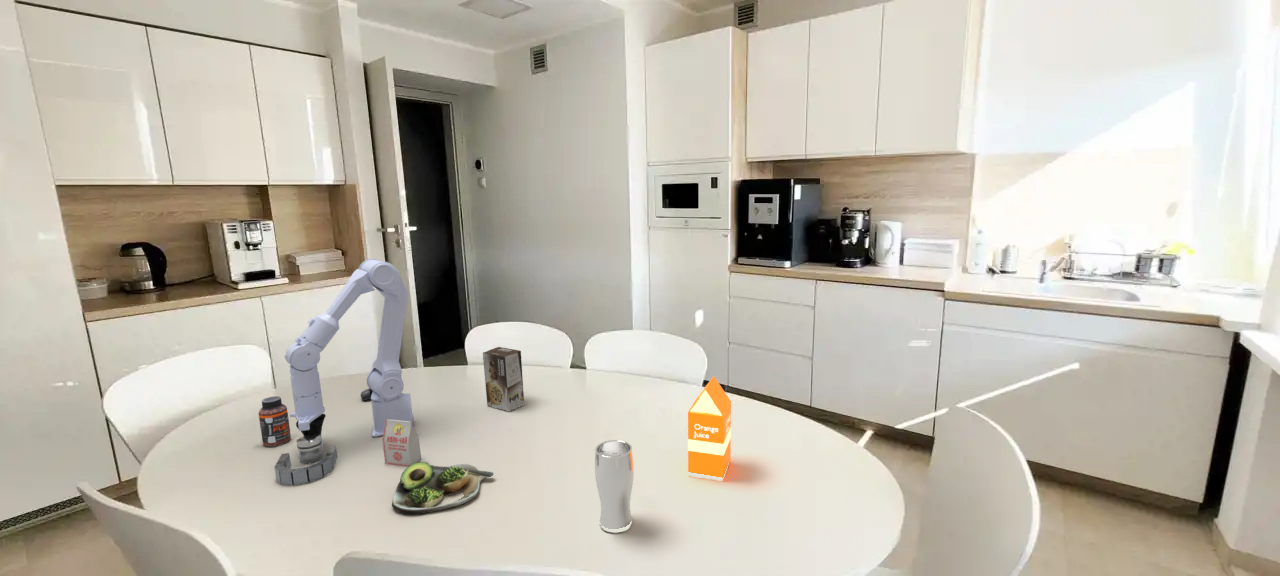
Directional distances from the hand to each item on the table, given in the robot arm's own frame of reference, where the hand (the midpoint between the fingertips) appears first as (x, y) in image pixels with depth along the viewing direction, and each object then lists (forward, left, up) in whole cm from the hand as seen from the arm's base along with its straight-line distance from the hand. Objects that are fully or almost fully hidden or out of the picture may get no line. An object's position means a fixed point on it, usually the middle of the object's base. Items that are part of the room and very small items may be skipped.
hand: (314, 446), depth 133 cm
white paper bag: (-20, +13, -1) cm, 24 cm away
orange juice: (-83, +43, -1) cm, 94 cm away
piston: (0, +4, -1) cm, 4 cm away
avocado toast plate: (-27, +29, -2) cm, 40 cm away
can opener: (-10, -38, -2) cm, 39 cm away
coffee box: (-46, -11, -1) cm, 47 cm away
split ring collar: (0, +10, -1) cm, 11 cm away
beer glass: (-58, +54, -1) cm, 80 cm away
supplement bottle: (+10, -10, -1) cm, 14 cm away
